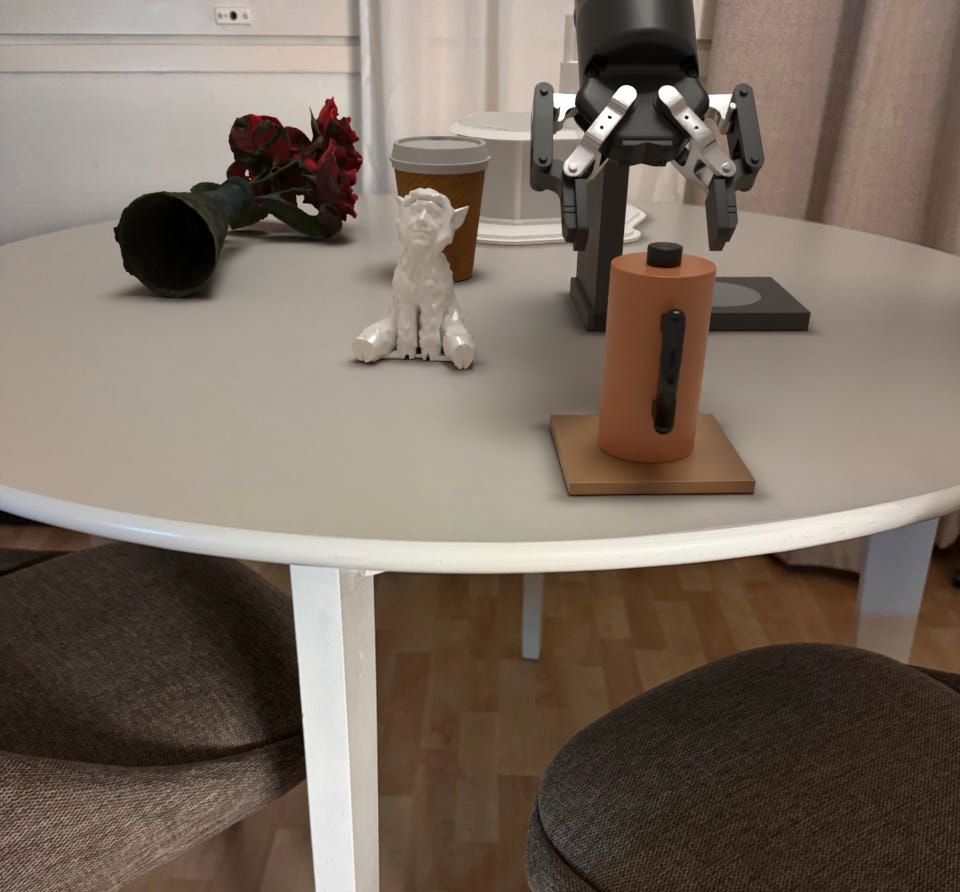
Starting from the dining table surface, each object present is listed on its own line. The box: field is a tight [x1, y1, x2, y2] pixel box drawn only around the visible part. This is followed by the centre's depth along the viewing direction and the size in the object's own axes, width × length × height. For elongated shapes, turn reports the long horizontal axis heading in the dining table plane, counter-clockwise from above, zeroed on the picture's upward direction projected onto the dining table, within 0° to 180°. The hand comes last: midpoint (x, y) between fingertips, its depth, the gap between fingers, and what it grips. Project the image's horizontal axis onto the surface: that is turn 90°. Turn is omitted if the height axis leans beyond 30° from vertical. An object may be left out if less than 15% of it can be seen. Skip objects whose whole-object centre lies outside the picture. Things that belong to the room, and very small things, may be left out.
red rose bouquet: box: [113, 95, 364, 299], centre depth 108 cm, size 16×18×35 cm
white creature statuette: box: [351, 188, 477, 370], centre depth 82 cm, size 10×9×12 cm
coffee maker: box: [569, 160, 812, 332], centre depth 89 cm, size 19×12×23 cm, turn 93°
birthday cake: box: [447, 13, 647, 246], centre depth 122 cm, size 30×29×22 cm
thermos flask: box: [598, 241, 718, 463], centre depth 63 cm, size 6×8×12 cm
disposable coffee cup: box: [388, 135, 491, 283], centre depth 102 cm, size 10×10×12 cm
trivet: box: [548, 413, 757, 496], centre depth 67 cm, size 11×11×1 cm
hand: (651, 244), depth 65 cm, fingers open, 8 cm apart
